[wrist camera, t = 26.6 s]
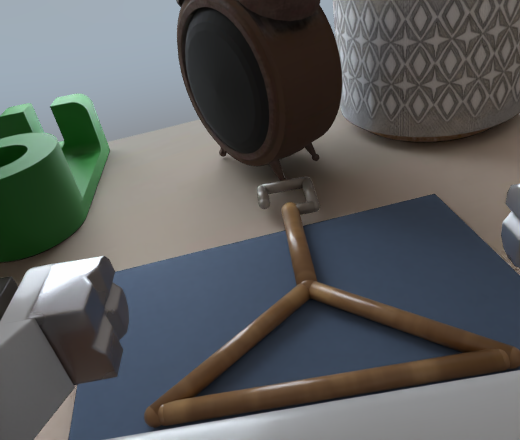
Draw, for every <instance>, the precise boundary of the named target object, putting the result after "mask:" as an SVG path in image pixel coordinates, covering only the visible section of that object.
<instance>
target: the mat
mask: <svg viewBox="0 0 520 440" xmlns="http://www.w3.org/2000/svg"><path fill="white" fill-rule="evenodd" d="M303 228H304V232H305V236H306V239H307V243H308V247H309V251H310V255H311V259H312V262H313V266H314V270H315V274H316V278H317V282H320V283H323V284H326V285H329V286H332V287H335V288H338V289H341V290H344V291H347V292H350V293H353V294H356V295H359V296H362V297H365V298H368V299H371V300H374V301H377V302H380V303H383V304H386V305H389V306H392V307H395V308H398V309H402V310H405V311H408V312H411V313H414V314H417V315H420V316H423V317H426V318H429V319H432V320H435V321H438V322H441V323H444V324H447V325H450V326H453V327H456V328H459V329H462V330H465V331H468V332H471V333H474V334H477V335H480V336H483V337H487V338H490V339H493V340H496V341H499V342H502V343H505V344H508V345H511V346H514V347H516V348H518V349H519V350H520V275H519V274H518V273H517V272H516V271H515V270H513V269H512V268H511V267H510V266H509V265H508V264H507V263H506V262H505V261H504V260H503V259H502V258H501V257H500V256H499V255H498V254H497V253H496V252H495V251H494V250H493V249H492V248H491V247H490V246H489V245H487V244H486V243H485V242H484V241H483V240H482V239H481V238H480V237H479V236H478V235H477V234H476V233H475V232H474V231H473V230H472V229H471V228H470V227H469V226H468V225H467V224H466V223H465V222H464V221H463V220H462V219H460V218H459V217H458V216H457V215H456V214H455V213H454V212H453V211H452V210H451V209H450V208H449V207H448V206H447V205H446V204H445V203H444V202H443V201H442V200H441V199H440V198H439V197H438V196H437V195H436V194H432V195H427V196H423V197H419V198H415V199H411V200H407V201H403V202H399V203H395V204H391V205H387V206H383V207H378V208H374V209H370V210H366V211H362V212H358V213H354V214H350V215H346V216H342V217H338V218H334V219H330V220H325V221H321V222H317V223H313V224H309V225H305V226H303ZM113 283H115V284H116V285H118V286H119V287H121V288H122V289H123V292H124V294H125V296H126V300H127V304H128V310H129V324H128V329H127V333H126V334H125V335H124V336H123V337H122V338H121V339H120V340H119V341H120V344H121V346H122V348H123V353H122V358H121V362H120V367H119V372H118V376H117V377H113V378H108V379H103V380H98V381H93V382H88V383H83V384H78V385H77V391H76V397H75V403H74V409H73V415H72V421H71V427H70V433H69V439H68V440H105V439H111V438H117V437H123V436H129V435H135V434H140V433H146V432H152V431H158V430H164V429H170V428H176V427H182V426H188V425H194V424H200V423H206V422H212V421H218V420H224V419H230V418H236V417H242V416H248V415H254V414H260V413H266V412H272V411H278V410H284V409H290V408H296V407H302V406H308V405H314V404H320V403H325V402H331V401H337V400H343V399H349V398H355V397H361V396H367V395H373V394H379V393H385V392H391V391H397V390H403V389H409V388H415V387H421V386H427V385H433V384H439V383H445V382H451V381H457V380H463V379H469V378H475V377H481V376H487V375H493V374H499V373H505V372H511V371H517V370H520V367H519V368H516V369H507V370H505V371H500V372H494V373H487V374H481V375H475V376H469V377H463V378H457V379H451V380H444V381H438V382H432V383H426V384H420V385H414V386H408V387H402V388H395V389H389V390H383V391H377V392H371V393H365V394H359V395H353V396H346V397H340V398H334V399H328V400H322V401H316V402H310V403H303V404H297V405H291V406H285V407H279V408H273V409H267V410H261V411H254V412H248V413H242V414H236V415H230V416H224V417H218V418H211V419H205V420H199V421H193V422H187V423H181V424H175V425H169V426H163V425H161V426H159V427H156V428H153V427H150V426H148V425H147V424H146V422H145V420H144V413H145V411H146V409H147V408H148V407H149V406H150V405H151V404H152V403H154V402H155V401H156V400H157V399H159V398H160V397H161V396H162V395H163V394H165V393H166V392H167V391H168V390H170V389H171V388H172V387H173V386H174V385H176V384H177V383H178V382H179V381H181V380H182V379H183V378H184V377H185V376H187V375H188V374H189V373H190V372H192V371H193V370H194V369H195V368H197V367H198V366H199V365H200V364H201V363H203V362H204V361H205V360H206V359H208V358H209V357H210V356H211V355H212V354H214V353H215V352H216V351H217V350H219V349H220V348H221V347H222V346H223V345H225V344H226V343H227V342H228V341H230V340H231V339H232V338H233V337H235V336H236V335H237V334H238V333H239V332H241V331H242V330H243V329H244V328H246V327H247V326H248V325H249V324H250V323H252V322H253V321H254V320H255V319H257V318H258V317H259V316H260V315H261V314H263V313H264V312H265V311H266V310H268V309H269V308H270V307H271V306H273V305H274V304H275V303H276V302H277V301H279V300H280V299H281V298H282V297H284V296H285V295H286V294H287V293H288V292H290V291H291V290H292V289H293V288H295V287H296V286H297V285H296V280H295V275H294V270H293V265H292V261H291V256H290V251H289V246H288V241H287V236H286V231H281V232H277V233H272V234H268V235H264V236H260V237H256V238H252V239H248V240H244V241H240V242H236V243H232V244H228V245H223V246H219V247H215V248H211V249H207V250H203V251H199V252H195V253H191V254H187V255H183V256H179V257H175V258H170V259H166V260H162V261H158V262H154V263H150V264H146V265H142V266H138V267H134V268H130V269H126V270H122V271H117V272H115V274H114V278H113ZM460 353H463V352H460V351H457V350H454V349H451V348H448V347H446V346H443V345H440V344H437V343H434V342H432V341H429V340H426V339H423V338H420V337H417V336H415V335H412V334H409V333H406V332H403V331H401V330H398V329H395V328H392V327H389V326H386V325H384V324H381V323H378V322H375V321H372V320H370V319H367V318H364V317H361V316H358V315H355V314H353V313H350V312H347V311H344V310H341V309H338V308H336V307H333V306H330V305H327V304H324V303H322V302H319V301H316V300H313V299H309V300H308V301H307V302H305V303H304V304H303V305H302V306H301V307H299V308H298V309H297V310H296V311H295V312H294V313H292V314H291V315H290V316H289V317H288V318H287V319H285V320H284V321H283V322H282V323H281V324H280V325H278V326H277V327H276V328H275V329H274V330H273V331H271V332H270V333H269V334H268V335H267V336H265V337H264V338H263V339H262V340H261V341H260V342H258V343H257V344H256V345H255V346H254V347H253V348H251V349H250V350H249V351H248V352H247V353H246V354H244V355H243V356H242V357H241V358H240V359H239V360H237V361H236V362H235V363H234V364H233V365H231V366H230V367H229V368H228V369H227V370H226V371H224V372H223V373H222V374H221V375H220V376H219V377H217V378H216V379H215V380H214V381H213V382H212V383H210V384H209V385H208V386H207V387H206V388H205V389H203V390H202V391H201V392H200V393H199V394H197V395H196V396H195V397H199V396H205V395H211V394H217V393H223V392H229V391H235V390H241V389H248V388H254V387H260V386H266V385H272V384H278V383H284V382H290V381H296V380H302V379H308V378H314V377H320V376H327V375H333V374H339V373H345V372H351V371H357V370H363V369H369V368H375V367H381V366H387V365H393V364H399V363H406V362H412V361H418V360H424V359H430V358H436V357H442V356H448V355H454V354H460Z"/></svg>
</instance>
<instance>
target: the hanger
mask: <svg viewBox="0 0 520 440" xmlns="http://www.w3.org/2000/svg"><path fill="white" fill-rule="evenodd" d="M299 188H303V191H304V194H305V197H306V201H307V202H304V203H298V204H295V203H292V202H288V203H286V204H284V205H283V207H282V216H283V221H284V226H285V231H286V236H287V241H288V246H289V251H290V256H291V261H292V265H293V270H294V275H295V280H296V285H297V286H296V287H295V288H293V289H292V290H291V291H290V292H288V293H287V294H286V295H285V296H284V297H282V298H281V299H280V300H279V301H277V302H276V303H275V304H274V305H273V306H271V307H270V308H269V309H268V310H266V311H265V312H264V313H263V314H261V315H260V316H259V317H258V318H257V319H255V320H254V321H253V322H252V323H250V324H249V325H248V326H247V327H246V328H244V329H243V330H242V331H241V332H239V333H238V334H237V335H236V336H235V337H233V338H232V339H231V340H230V341H228V342H227V343H226V344H225V345H223V346H222V347H221V348H220V349H219V350H217V351H216V352H215V353H214V354H212V355H211V356H210V357H209V358H208V359H206V360H205V361H204V362H203V363H201V364H200V365H199V366H198V367H197V368H195V369H194V370H193V371H192V372H190V373H189V374H188V375H187V376H185V377H184V378H183V379H182V380H181V381H179V382H178V383H177V384H176V385H174V386H173V387H172V388H171V389H170V390H168V391H167V392H166V393H165V394H163V395H162V396H161V397H160V398H159V399H157V400H156V401H155V402H154V403H152V404H151V405H150V406H149V407H148V408H147V409H146V411H145V413H144V420H145V422H146V424H147V425H148V426H150V427H153V428H156V427H159V426H161V425H163V426H169V425H175V424H181V423H187V422H193V421H199V420H205V419H211V418H218V417H224V416H230V415H236V414H242V413H248V412H254V411H261V410H267V409H273V408H279V407H285V406H291V405H297V404H303V403H310V402H316V401H322V400H328V399H334V398H340V397H346V396H353V395H359V394H365V393H371V392H377V391H383V390H389V389H395V388H402V387H408V386H414V385H420V384H426V383H432V382H438V381H444V380H451V379H457V378H463V377H469V376H475V375H481V374H487V373H494V372H500V371H505V370H507V369H516V368H519V367H520V350H519V349H518V348H516V347H514V346H511V345H508V344H505V343H502V342H499V341H496V340H493V339H490V338H487V337H483V336H480V335H477V334H474V333H471V332H468V331H465V330H462V329H459V328H456V327H453V326H450V325H447V324H444V323H441V322H438V321H435V320H432V319H429V318H426V317H423V316H420V315H417V314H414V313H411V312H408V311H405V310H402V309H398V308H395V307H392V306H389V305H386V304H383V303H380V302H377V301H374V300H371V299H368V298H365V297H362V296H359V295H356V294H353V293H350V292H347V291H344V290H341V289H338V288H335V287H332V286H329V285H326V284H323V283H320V282H317V278H316V274H315V270H314V266H313V262H312V259H311V255H310V251H309V247H308V243H307V239H306V236H305V232H304V228H303V224H302V220H301V216H300V215H302V214H307V213H313V212H317V211H318V210H319V209H320V204H319V201H318V198H317V195H316V192H315V189H314V186H313V183H312V180H311V178H309V177H301V178H295V179H290V180H284V181H278V182H273V183H267V184H261V185H259V186H258V188H257V194H258V201H259V206H260V207H261V208H262V209H267V208H268V207H269V206H270V201H269V195H268V194H271V193H277V192H282V191H288V190H294V189H299ZM309 299H313V300H316V301H319V302H322V303H324V304H327V305H330V306H333V307H336V308H338V309H341V310H344V311H347V312H350V313H353V314H355V315H358V316H361V317H364V318H367V319H370V320H372V321H375V322H378V323H381V324H384V325H386V326H389V327H392V328H395V329H398V330H401V331H403V332H406V333H409V334H412V335H415V336H417V337H420V338H423V339H426V340H429V341H432V342H434V343H437V344H440V345H443V346H446V347H448V348H451V349H454V350H457V351H460V352H463V353H460V354H454V355H448V356H442V357H436V358H430V359H424V360H418V361H412V362H406V363H399V364H393V365H387V366H381V367H375V368H369V369H363V370H357V371H351V372H345V373H339V374H333V375H327V376H320V377H314V378H308V379H302V380H296V381H290V382H284V383H278V384H272V385H266V386H260V387H254V388H248V389H241V390H235V391H229V392H223V393H217V394H211V395H205V396H199V397H195V396H196V395H197V394H199V393H200V392H201V391H202V390H203V389H205V388H206V387H207V386H208V385H209V384H210V383H212V382H213V381H214V380H215V379H216V378H217V377H219V376H220V375H221V374H222V373H223V372H224V371H226V370H227V369H228V368H229V367H230V366H231V365H233V364H234V363H235V362H236V361H237V360H239V359H240V358H241V357H242V356H243V355H244V354H246V353H247V352H248V351H249V350H250V349H251V348H253V347H254V346H255V345H256V344H257V343H258V342H260V341H261V340H262V339H263V338H264V337H265V336H267V335H268V334H269V333H270V332H271V331H273V330H274V329H275V328H276V327H277V326H278V325H280V324H281V323H282V322H283V321H284V320H285V319H287V318H288V317H289V316H290V315H291V314H292V313H294V312H295V311H296V310H297V309H298V308H299V307H301V306H302V305H303V304H304V303H305V302H307V301H308V300H309Z"/></svg>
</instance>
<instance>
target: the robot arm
mask: <svg viewBox="0 0 520 440" xmlns="http://www.w3.org/2000/svg"><path fill="white" fill-rule="evenodd" d="M505 204H506V205H507V206H508V207H509V209H510V210H511V211H512V212H511V213H510V214H509V215H508V216H507V218H506V219H505V220H504V221H503V224H502V233H501V237H502V242H503V247H504V250H505V252H506V254H507V256H508V258H509V259H510V260H511V262H512V263H513V264H514V265H515V266H516V267H519V268H520V184H515V185H511V187H510V189H509V190H508V192H507V197H506V203H505ZM114 274H115V270H114V268H113V266H112V264H111V262H110V260H109V259H108V258H107V257H105V256H101V257H94V258H88V259H81V260H75V261H68V262H62V263H57V264H49V265H44V266H38V267H33V268H31V269H29V270H27V272H26V274H25V276H24V277H23V279H22V281H21V283H20V285H19V287H18V289H17V291H16V292H15V294H14V296H13V298H12V300H11V302H10V304H9V306H8V307H7V309H6V311H5V313H4V315H3V317H2V319H1V321H0V440H33V439H34V438H35V437H36V436H37V434H38V433H39V432H40V431H41V429H42V428H43V427H44V426H45V424H46V423H47V422H48V421H49V419H50V418H51V417H52V416H53V414H54V413H55V412H56V411H57V409H58V408H59V407H60V406H61V404H62V403H63V402H64V401H65V399H66V398H67V397H68V395H69V394H70V393H71V392H72V390H73V389H74V388H75V386H74V385H78V384H83V383H88V382H93V381H98V380H103V379H108V378H113V377H117V376H118V372H119V367H120V362H121V358H122V353H123V348H122V346H121V344H120V341H119V340H120V339H121V338H122V337H123V336H124V335H125V334H126V333H127V329H128V324H129V310H128V304H127V300H126V296H125V294H124V292H123V289H122V288H121V287H119V286H118V285H116V284H115V283H113V278H114ZM105 440H520V370H517V371H511V372H505V373H499V374H493V375H487V376H481V377H475V378H469V379H463V380H457V381H451V382H445V383H439V384H433V385H427V386H421V387H415V388H409V389H403V390H397V391H391V392H385V393H379V394H373V395H367V396H361V397H355V398H349V399H343V400H337V401H331V402H325V403H320V404H314V405H308V406H302V407H296V408H290V409H284V410H278V411H272V412H266V413H260V414H254V415H248V416H242V417H236V418H230V419H224V420H218V421H212V422H206V423H200V424H194V425H188V426H182V427H176V428H170V429H164V430H158V431H152V432H146V433H140V434H135V435H129V436H123V437H117V438H111V439H105Z"/></svg>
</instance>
